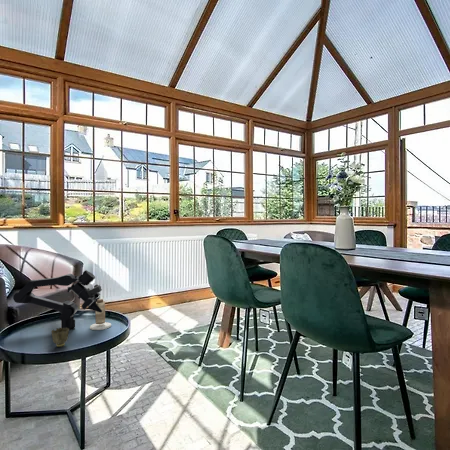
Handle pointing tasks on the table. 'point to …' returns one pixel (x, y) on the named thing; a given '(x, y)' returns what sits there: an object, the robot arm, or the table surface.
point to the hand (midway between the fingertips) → (102, 310)
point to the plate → (100, 326)
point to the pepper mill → (101, 316)
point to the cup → (60, 336)
